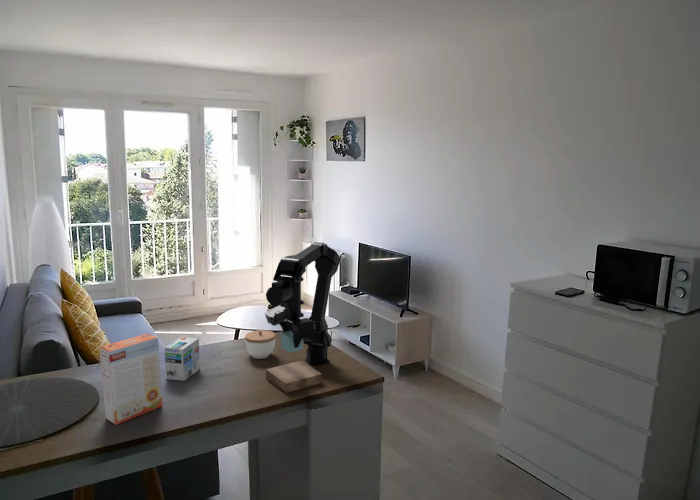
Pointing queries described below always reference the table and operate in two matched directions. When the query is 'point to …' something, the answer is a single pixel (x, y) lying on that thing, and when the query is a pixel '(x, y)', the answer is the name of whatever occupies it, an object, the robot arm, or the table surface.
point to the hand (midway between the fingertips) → (292, 344)
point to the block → (289, 342)
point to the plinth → (293, 376)
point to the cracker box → (131, 377)
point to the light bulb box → (182, 358)
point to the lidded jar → (260, 343)
